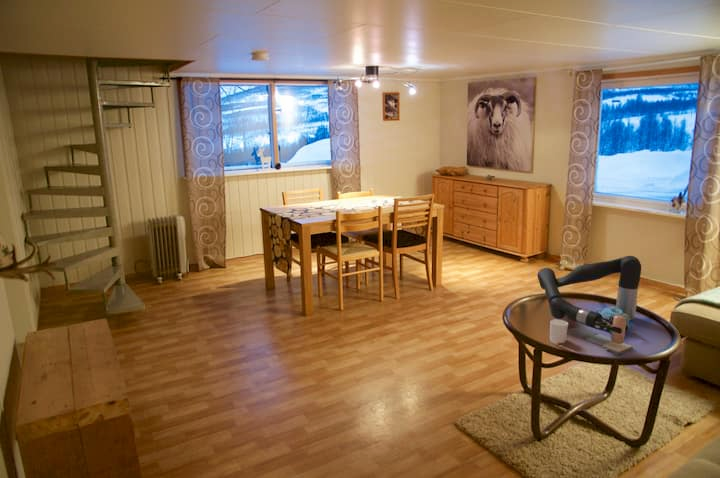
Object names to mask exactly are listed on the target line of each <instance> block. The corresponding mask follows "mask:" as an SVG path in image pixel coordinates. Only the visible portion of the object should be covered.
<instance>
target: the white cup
mask: <svg viewBox="0 0 720 478" xmlns="http://www.w3.org/2000/svg"><path fill="white" fill-rule="evenodd" d="M549 323H550V325H549V342H550V343H551V342H552V343H551V344H553V343H554V345H556V344H563V343H565V342H566V339H567V334H568V333H567V330H569V322H567V321H566V320H563V319H556V318H555V319H551V320H550V321H549Z"/></svg>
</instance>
